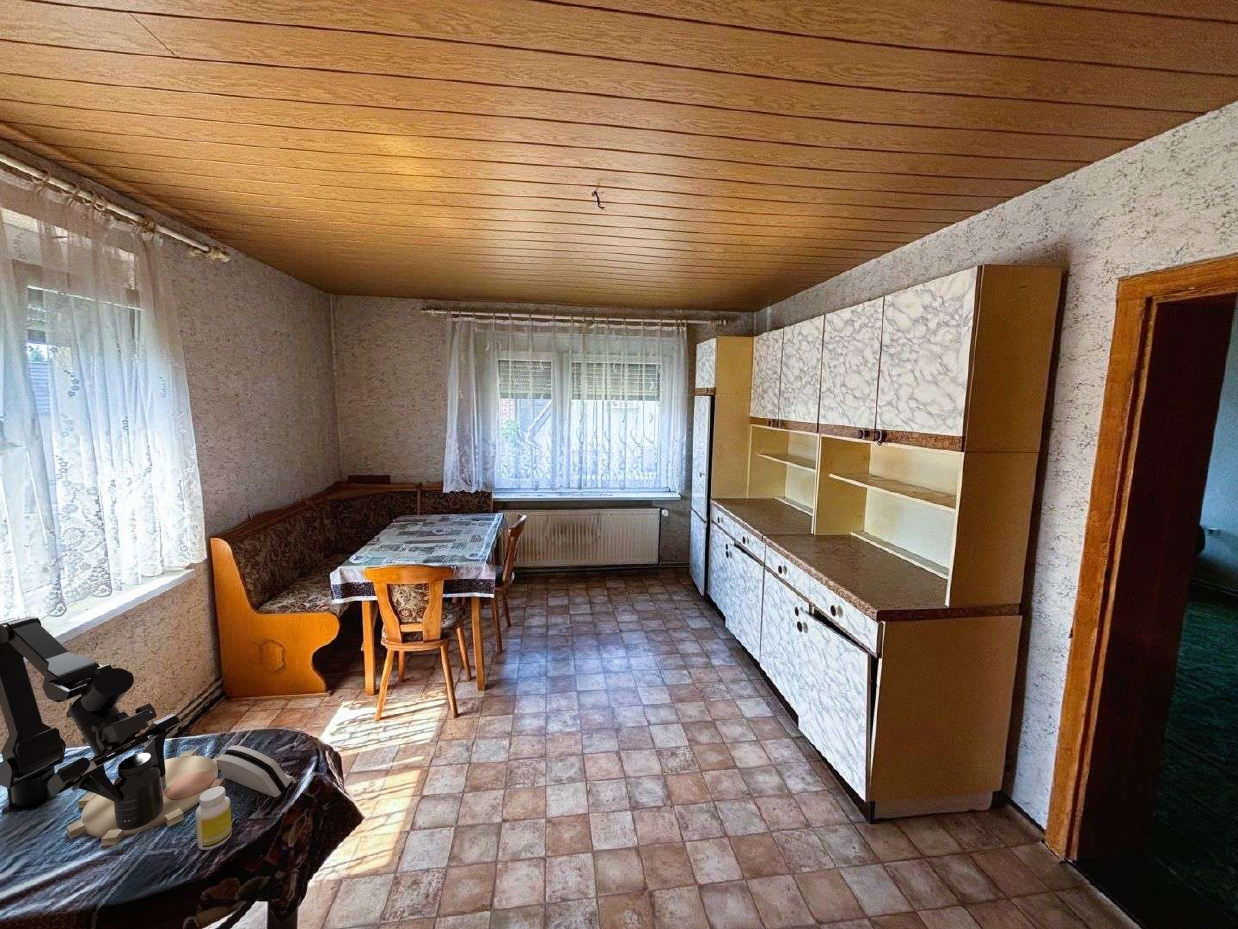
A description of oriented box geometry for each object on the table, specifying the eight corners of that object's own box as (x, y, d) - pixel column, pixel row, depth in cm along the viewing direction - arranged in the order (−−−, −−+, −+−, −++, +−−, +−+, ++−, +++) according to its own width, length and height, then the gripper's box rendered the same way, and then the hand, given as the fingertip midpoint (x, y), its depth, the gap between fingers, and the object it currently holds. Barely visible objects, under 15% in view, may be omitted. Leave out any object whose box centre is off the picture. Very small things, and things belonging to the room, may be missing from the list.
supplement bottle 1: (135, 805, 103) (130, 749, 101) (172, 803, 104) (168, 747, 102) (105, 833, 96) (100, 773, 95) (145, 831, 97) (141, 771, 95)
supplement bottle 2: (238, 833, 104) (236, 787, 103) (209, 854, 99) (206, 807, 98) (220, 825, 105) (217, 780, 104) (190, 846, 100) (187, 799, 99)
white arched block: (297, 782, 118) (281, 753, 114) (279, 802, 114) (261, 773, 110) (246, 763, 123) (229, 735, 119) (227, 782, 119) (208, 753, 115)
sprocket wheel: (27, 855, 97) (25, 833, 97) (127, 762, 123) (126, 745, 122) (186, 835, 103) (184, 814, 102) (250, 750, 128) (249, 733, 128)
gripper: (51, 728, 90) (97, 803, 87) (172, 676, 107) (213, 738, 105) (28, 759, 93) (72, 833, 91) (149, 703, 110) (188, 764, 108)
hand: (142, 788), depth 99 cm, fingers closed on supplement bottle 1, 7 cm apart
